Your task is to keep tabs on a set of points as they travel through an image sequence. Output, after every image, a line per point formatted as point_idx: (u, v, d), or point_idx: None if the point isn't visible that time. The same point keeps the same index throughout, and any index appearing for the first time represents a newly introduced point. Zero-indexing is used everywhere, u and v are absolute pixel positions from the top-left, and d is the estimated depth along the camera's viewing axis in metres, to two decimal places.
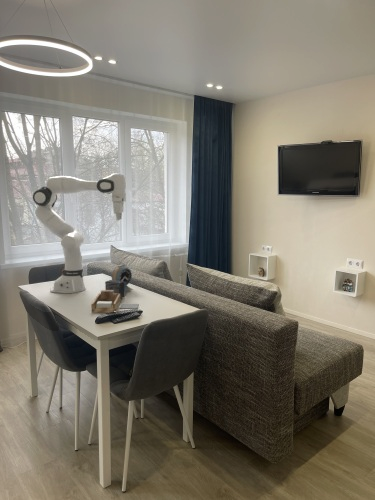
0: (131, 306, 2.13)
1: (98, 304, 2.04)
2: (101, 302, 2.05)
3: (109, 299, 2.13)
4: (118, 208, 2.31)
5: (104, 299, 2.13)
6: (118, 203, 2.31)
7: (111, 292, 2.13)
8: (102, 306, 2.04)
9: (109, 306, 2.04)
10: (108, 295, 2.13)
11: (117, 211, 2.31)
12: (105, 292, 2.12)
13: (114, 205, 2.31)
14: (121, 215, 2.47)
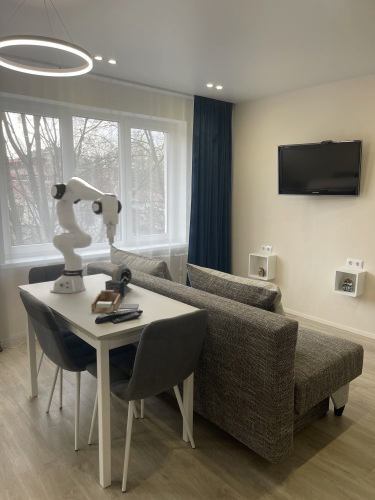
0: (131, 306, 2.13)
1: (98, 304, 2.04)
2: (101, 302, 2.05)
3: (109, 299, 2.13)
4: None
5: (104, 299, 2.13)
6: None
7: (111, 292, 2.13)
8: (102, 307, 2.04)
9: (109, 306, 2.04)
10: (108, 295, 2.13)
11: None
12: (105, 292, 2.12)
13: None
14: (109, 240, 2.14)
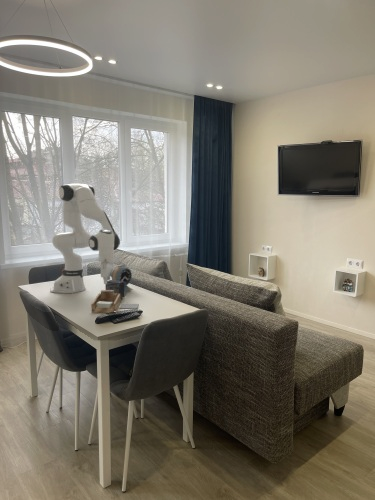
0: (131, 306, 2.13)
1: (98, 304, 2.04)
2: (101, 302, 2.06)
3: (109, 299, 2.13)
4: None
5: (104, 299, 2.13)
6: None
7: (111, 292, 2.13)
8: (102, 307, 2.04)
9: (108, 307, 2.04)
10: (108, 295, 2.13)
11: None
12: (105, 292, 2.12)
13: None
14: None
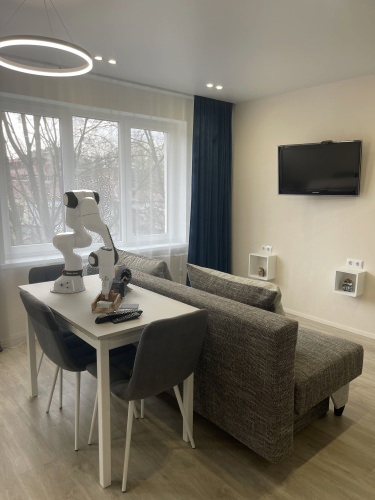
0: (131, 306, 2.13)
1: (98, 303, 2.05)
2: (102, 302, 2.06)
3: (109, 299, 2.13)
4: None
5: (104, 299, 2.13)
6: None
7: (111, 292, 2.13)
8: (101, 306, 2.05)
9: (107, 307, 2.03)
10: (108, 295, 2.13)
11: None
12: None
13: None
14: (105, 294, 2.11)
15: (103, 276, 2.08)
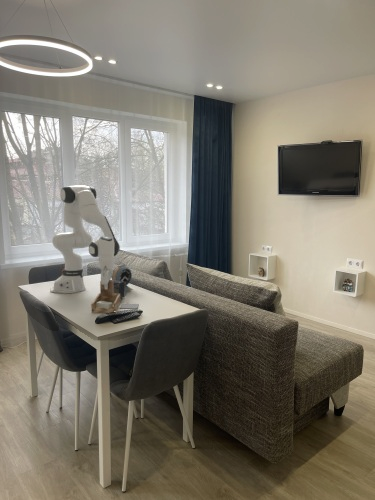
0: (131, 306, 2.13)
1: (98, 303, 2.05)
2: (101, 302, 2.06)
3: (108, 289, 2.13)
4: None
5: (104, 289, 2.13)
6: None
7: (110, 282, 2.12)
8: (101, 306, 2.04)
9: (106, 307, 2.03)
10: None
11: None
12: None
13: None
14: (104, 285, 2.11)
15: (102, 266, 2.08)
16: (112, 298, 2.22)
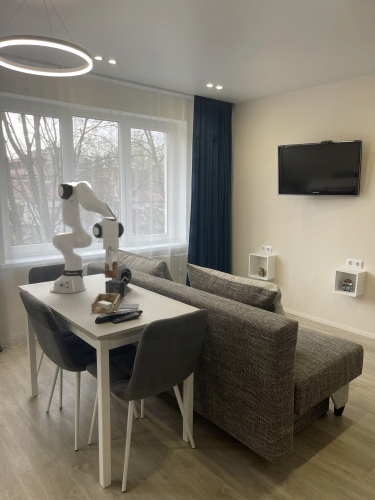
0: (131, 306, 2.13)
1: (98, 303, 2.06)
2: (102, 302, 2.06)
3: (113, 270, 2.10)
4: None
5: (108, 271, 2.10)
6: None
7: (115, 263, 2.09)
8: (101, 306, 2.05)
9: (106, 307, 2.02)
10: None
11: None
12: None
13: None
14: (109, 266, 2.08)
15: (107, 246, 2.05)
16: (112, 298, 2.22)
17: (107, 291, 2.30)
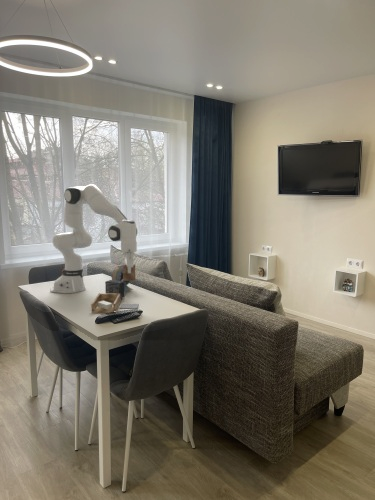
0: (131, 306, 2.13)
1: (98, 303, 2.06)
2: (102, 302, 2.06)
3: (131, 273, 2.10)
4: None
5: (126, 273, 2.09)
6: None
7: (133, 266, 2.09)
8: (101, 306, 2.05)
9: (105, 307, 2.02)
10: None
11: None
12: None
13: None
14: None
15: (126, 249, 2.04)
16: (112, 298, 2.22)
17: (107, 291, 2.30)
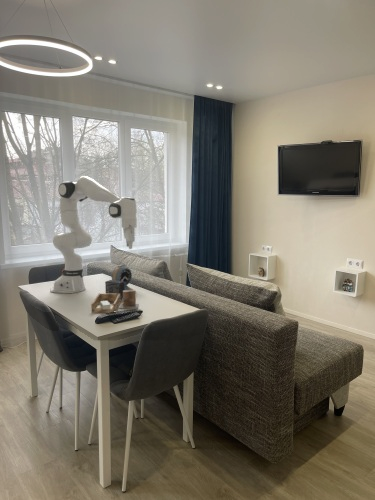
0: (131, 306, 2.13)
1: (100, 302, 2.07)
2: (104, 302, 2.07)
3: (132, 299, 2.12)
4: None
5: (127, 300, 2.12)
6: None
7: (134, 292, 2.12)
8: (101, 306, 2.05)
9: (102, 307, 2.02)
10: (131, 295, 2.12)
11: None
12: (128, 292, 2.11)
13: None
14: (128, 244, 2.14)
15: (127, 225, 2.13)
16: (112, 298, 2.22)
17: (107, 291, 2.30)
